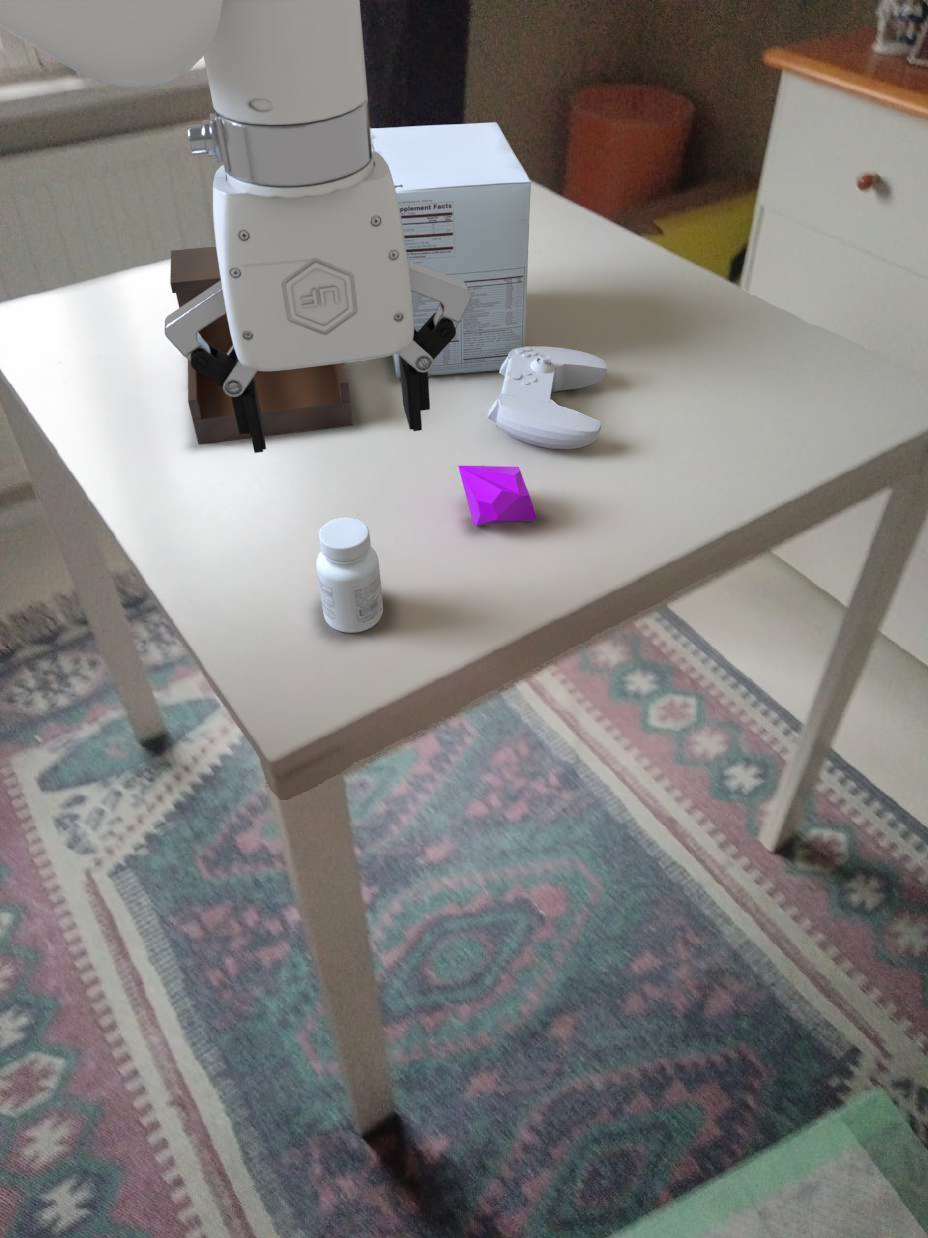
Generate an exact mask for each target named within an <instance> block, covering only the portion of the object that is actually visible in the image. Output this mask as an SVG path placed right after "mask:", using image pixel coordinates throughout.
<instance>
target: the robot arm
mask: <svg viewBox="0 0 928 1238" xmlns="http://www.w3.org/2000/svg"><path fill="white" fill-rule="evenodd" d="M362 25H363V24H362V13H361V2H360V0H0V27H1V28H2V29H5V30H6V31H7V32H8V33H10V34H12V35H14V36H15V37H17V38H19V39H21V40H22V41H24V42H25V43H27V44H28V45H31V46H32V47H34V48H35V49H37V50H39V51H40V52H42V53H44V54H45V55H46V56H49V57H50V58H52V59H54V60H55V61H57V62H59V63H60V64H62V65H64V66H65V67H67V68H69V69H71V70H73V71H75V72H77V73H79V74H81V75H83V76H84V77H87V78H89V79H90V80H91V79H92V80H94V81H96V82H100V83H103V84H107V85H110V86H113V87H117V88H125V89H126V88H127V89H145V88H153V87H154V88H155V87H159V86H161V85H165V84H167V83H170V82H173V81H175V80H177V79H178V78H180V77H182V76H183V75H185V74H187V73H188V72H189V71H190V70H191V69H192V68H193V67H195V65H196V64H198V63H199V61H200V60H201V59H203V61H204V66H205V70H206V76H207V81H208V87H209V91H210V97H211V101H212V107H213V110H214V112H212V113H209V114H208V115H209V120H208V119H207V120H202V121H201V123H200V124H188V125H187V126H186V128H187V135H188V141H189V146H190V149H191V155H193V156H194V155H204V154H205V155H206V154H207V156H208V157H216V161H217V163H221V162H222V163H223V164H222V165H221V166H220V167H219V168H218V169H216V172H215V173H214V178H213V182H212V216H213V229H214V240H215V246H216V250H217V256H218V263H219V270H220V276H221V280H220V281H219V282H217V283H216V284H214V285H213V286H211V287H210V288H208V289H207V290H205V291H204V292H202V293H201V294H200V295H198V296H197V297H195V298H194V299H192V300H191V301H189V302H188V303H186V304H185V305H183V306H182V307H180V308H179V307H178V308H177V309H176V310H174V311H173V312H171V313H170V314H168V315H167V316H166V317H165V319H164V335H165V337H166V338H167V340H168V341H170V343H171V344H172V345H173V346H174V347H175V349H176V350H177V351H178V352H179V353H180V354H181V355H182V356H183V358H184V357H185V358H186V359H187V361H188V360H189V361H190V362H191V366H192V367H193V369H194V370H196V371H197V372H199V373H200V374H202V375H204V376H205V377H207V378H208V379H210V380H212V381H213V382H215V383H217V384H218V385H220V386H221V387H223V390H224V392H225V393H226V394H227V395H228V396H231V398H232V403H233V407H234V412H235V416H236V421H237V426H238V430H239V434H240V435H244V434H251V438H250V439H251V443H252V448H253V452H254V454H258V453H263V452H264V450H267V447H266V446H267V445H266V436H265V435H264V426H263V420H262V415H261V410H260V405H259V400H258V395H257V390H256V385H255V380H254V376H255V374H256V373H257V371H280V370H290V369H298V368H307V367H315V366H323V365H331V364H338V363H344V364H345V363H353V362H359V361H361V362H362V361H368V360H369V361H370V360H374V359H381V358H388V357H391V356H393V355H394V354H399V362H400V374H401V378H400V385H401V398H402V407H403V410H404V414H405V417H406V421H407V425H408V428H409V430H412V431H413V432H418V431H423V423H422V412H423V411H429V410H431V400H430V399H431V398H430V384H429V376H428V371H429V370H431V368H432V367H433V365H434V361H433V360H434V359H435V358H436V357H437V356H438V355H439V353H440V352H441V351H442V350H443V349H444V348H445V347H446V346H447V345H448V344H449V342H450V341H451V340H452V339H453V338H454V337H455V334H456V328H457V325H458V323H460V321H461V319H462V317H463V315H464V313H465V311H466V309H467V307H468V305H469V303H470V301H471V293H470V291H469V289H468V287H467V285H466V283H465V282H463V281H462V280H459V279H456V278H454V277H451V276H448V275H446V274H443V273H441V272H438V271H435V270H433V269H430V268H427V267H425V266H422V265H420V264H417V263H414V262H412V261H409V260H407V253H406V246H405V239H404V231H403V226H402V220H401V214H400V208H399V204H398V199H397V195H396V190H395V186H394V182H393V179H392V175H391V172H390V169H389V166H388V164H387V163H386V162H385V160H384V158H383V157H382V156H381V155H380V154H378V153H376V152H374V151H373V149H372V138H371V129H372V127H371V117H370V115H371V114H370V106H369V105H370V103H369V96H368V83H367V72H366V71H367V70H366V61H365V47H364V39H363V38H364V37H363V26H362ZM411 292H414V293H416V294H419V295H422V296H425V297H427V298H430V299H433V300H436V301H438V302H440V303H439V305H438V310H437V312H435V313H434V314H433V315H432V316H431V317H430V319H429V320H428V321H427V322H426V323H425V324H424V325H423V326H422V327H421V329H420V330H418V329H417V328H416V327H414V319H413V305H412V295H411ZM226 313H227V318H228V323H229V328H230V333H231V338H232V342H233V345H232V346H231V348H230V350H229V351H228V353H227V354H226V353H224V352H223V351H221V350H220V349H218V348H217V347H215V346H213V345H212V344H210V343H209V342H207V341H205V340H204V339H203V338H202V337H201V335H200V334H199V331H200V330H201V329H203V328H204V327H206V326H207V325H209V324H211V323H212V322H214V321H215V320H217V319H218V318H220V317H221V316H223V315H224V314H226ZM402 314H403V315H402Z"/></svg>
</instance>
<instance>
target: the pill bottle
mask: <svg viewBox="0 0 928 1238" xmlns="http://www.w3.org/2000/svg"><path fill="white" fill-rule="evenodd" d="M318 540H319V549H320V552H319V554H318V555H317V558H316V563H315V564H316V565H315V566H316V574H317V575H316V576H317V581H318V588H319V593H320V600H321V607H322V613H323V617H324V618H323V619H324V620H325V622H326V623H327V625H328V626H329V627H331V628H332V629H334V630H336V631H339V632H342V633H347V634H350V633H351V634H355V633H360V632H361V633H362V632H364V631H366V630H369V629H371V628H373V627H374V626H376V624H378V623H379V621H380V620H381V618H382V616H383V613H384V603H383V602H384V601H383V591H382V582H381V581H382V580H381V571H380V570H381V569H380V561H379V556H378V554H377V551H376V550H375V548H374V547H372V546H371V545H372V542H371V535H370V530H369V527H368V525H367V524H366V523H365V522H364V521H362V520H360V519H358V518H355V517H347V516H346V517H345V516H344V517H337V518H334V519H330V520H329V521H327V522H325V524H323V525H322V526H321V528H320V530H319V531H318Z"/></svg>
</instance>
